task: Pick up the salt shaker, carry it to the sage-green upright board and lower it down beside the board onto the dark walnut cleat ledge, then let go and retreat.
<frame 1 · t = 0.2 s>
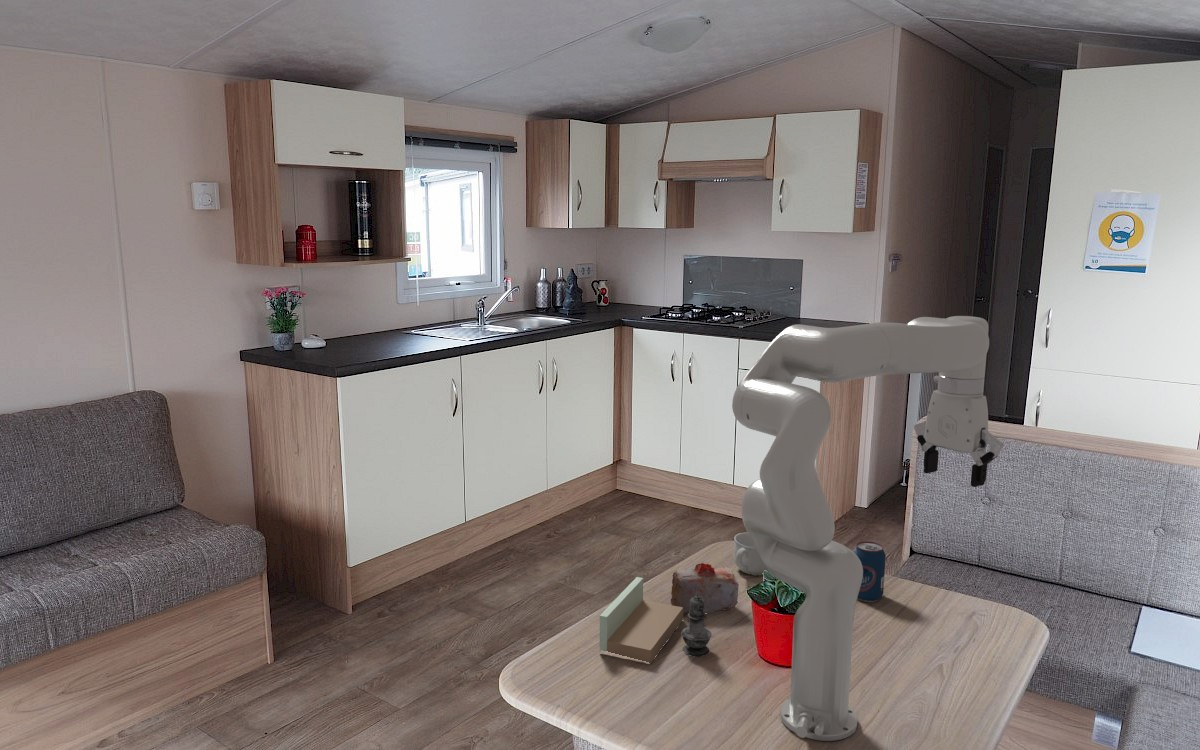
hand: (953, 478, 156), 37 cm above the table, tool pointing down, fingers open, 9 cm apart
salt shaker: (696, 651, 169), on the table
soda can: (866, 597, 193), on the table
teacup: (751, 573, 206), on the table
food item: (703, 608, 187), on the table
cleat board: (645, 637, 174), on the table
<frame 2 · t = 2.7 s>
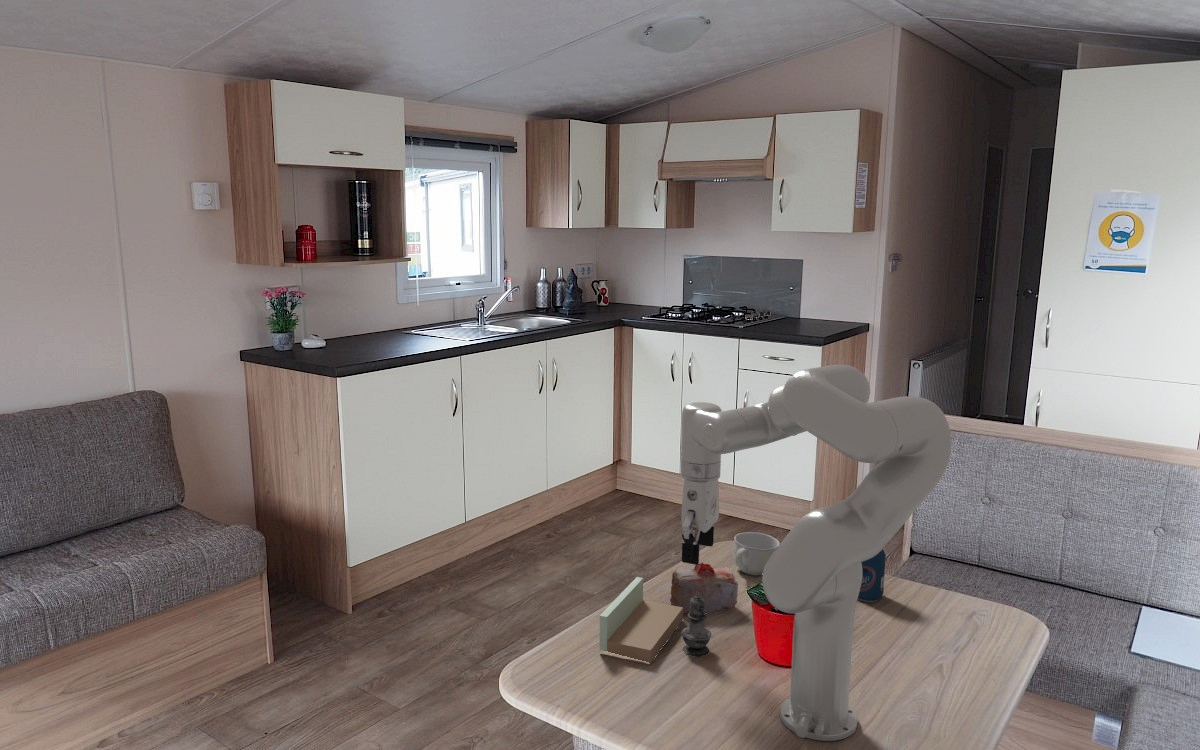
hand: (697, 553, 165), 20 cm above the table, tool pointing down, fingers open, 9 cm apart
nothing on the table moved.
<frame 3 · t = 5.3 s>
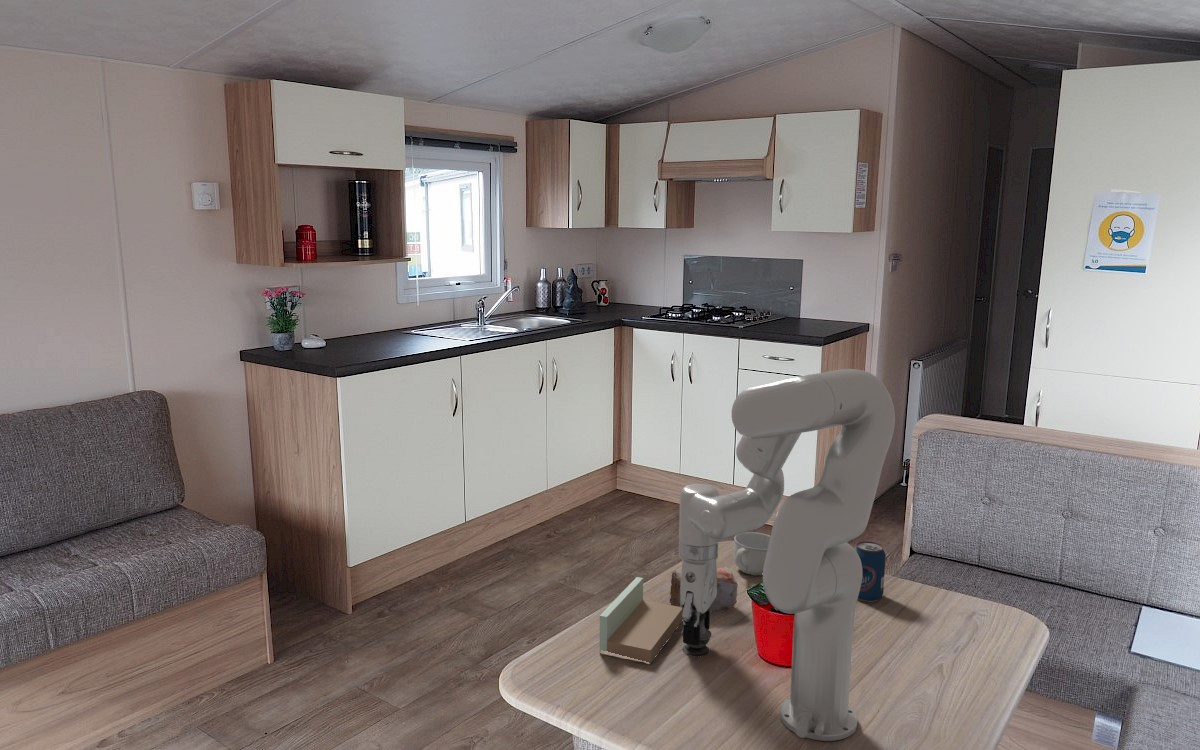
hand: (696, 635, 168), 3 cm above the table, tool pointing down, fingers closed on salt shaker, 5 cm apart
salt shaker: (695, 651, 169), on the table, touching gripper
everything else where it was.
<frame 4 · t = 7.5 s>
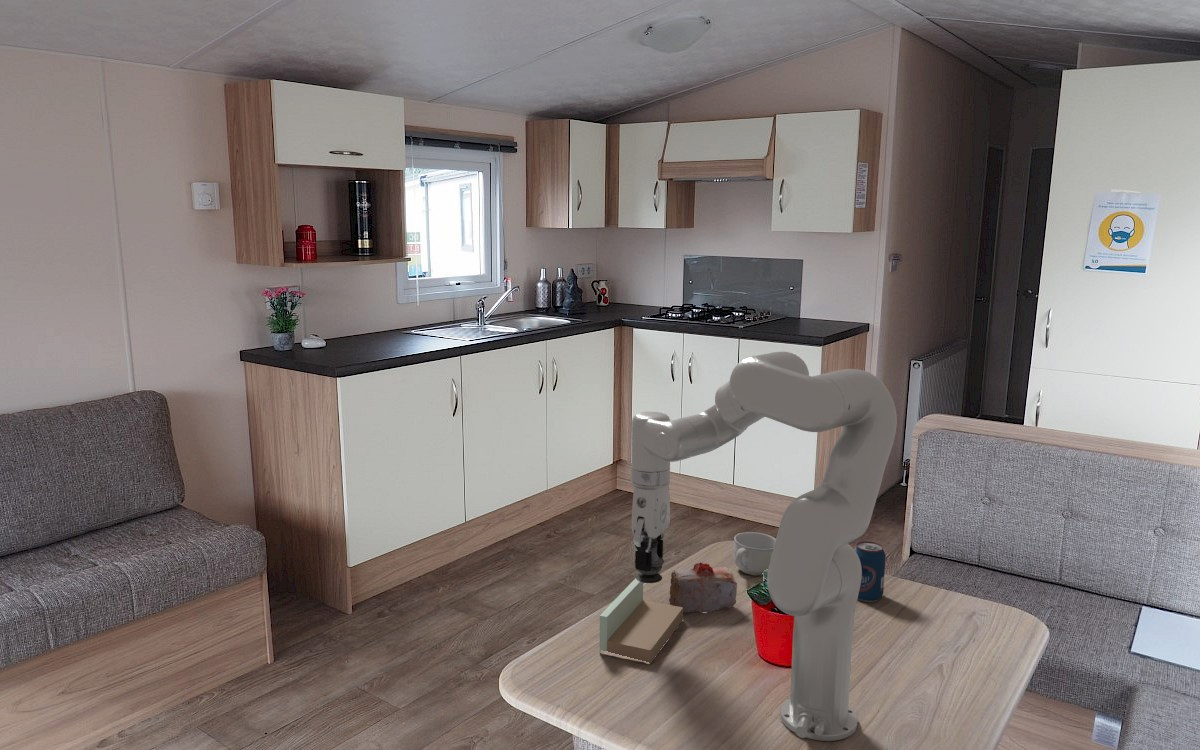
hand: (649, 563, 170), 16 cm above the table, tool pointing down, fingers closed on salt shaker, 5 cm apart
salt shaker: (648, 578, 170), point 13 cm above the table, touching gripper
everything else where it was.
when the fingers open (7 cm above the table, at t = 9.9 s): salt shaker stays where it is, resting on cleat board.
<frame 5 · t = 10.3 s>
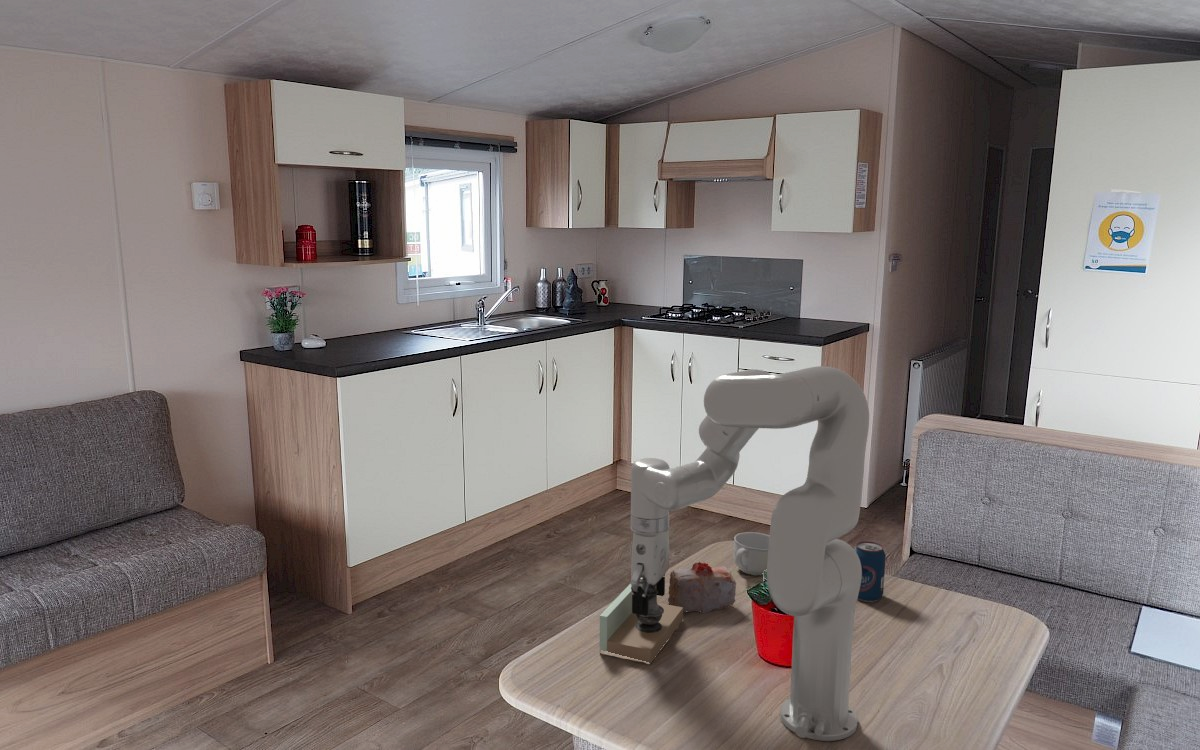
hand: (648, 604, 171), 8 cm above the table, tool pointing down, fingers open, 9 cm apart
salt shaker: (648, 627, 172), point 3 cm above the table, touching cleat board
everything else where it was.
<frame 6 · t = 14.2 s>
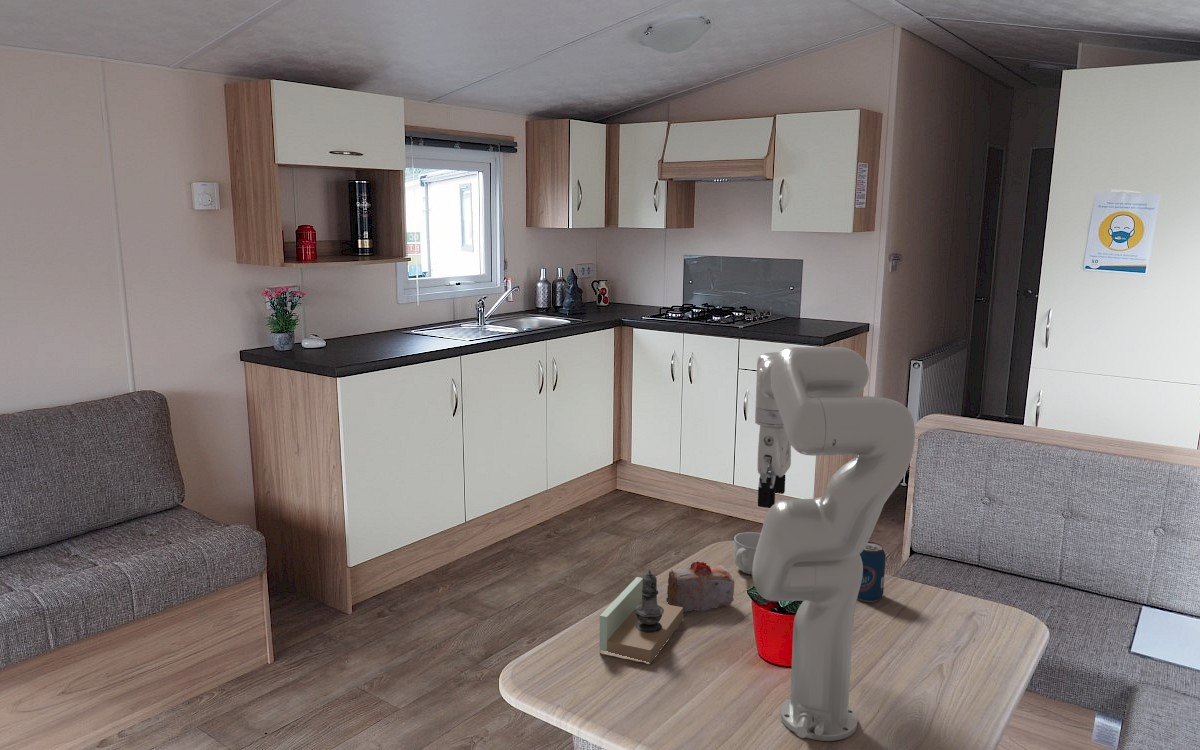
hand: (771, 499, 171), 28 cm above the table, tool pointing down, fingers open, 9 cm apart
at the end: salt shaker inside the target area on the cleat board (1.3 cm from its centre), point 2.8 cm above the cleat board's base; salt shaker tilted 0°; the gripper is holding nothing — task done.
